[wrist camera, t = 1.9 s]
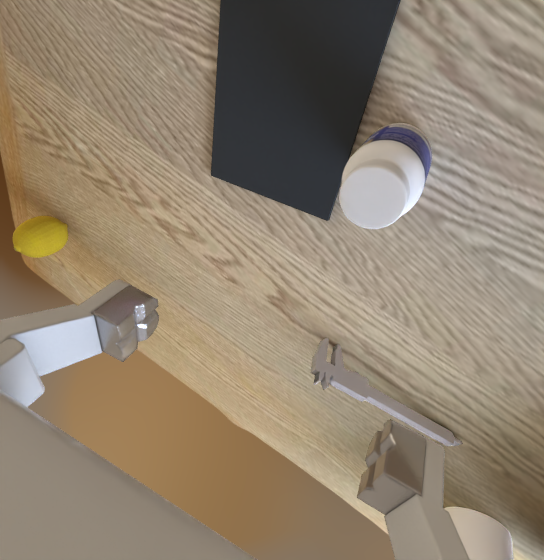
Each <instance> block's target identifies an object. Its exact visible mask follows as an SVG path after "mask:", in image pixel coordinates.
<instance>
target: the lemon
mask: <svg viewBox="0 0 544 560" xmlns="http://www.w3.org/2000/svg"><path fill="white" fill-rule="evenodd" d="M67 228H68V226H67V224H65V223H62V222H61V221H60V220H58V219H56V218H54V217H50V216H38V217H34V218H31V219H29V220H27V221H25V222H23V223H22V224H21V225H20V226H18V227H17V229H16V230H15V232H14V234H13V243H14V249H15V250H16V251H19V252H21V253H22V254H24V255H26V256H29V257H37V258H38V257H45V256H48V255H51V254H53V253H55V252H57V251H59V250H60V249H61V248H63V247H64V245H65V244H66V242H67V240H68V231H67Z"/></svg>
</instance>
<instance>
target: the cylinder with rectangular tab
mask: <svg viewBox="0 0 544 560" xmlns="http://www.w3.org/2000/svg"><path fill="white" fill-rule="evenodd" d="M443 509H445V510H446V511H448V512H449V514H450V516H451V518H452V521H453V523H454V525H455V527H456V530H457V532H458V534H459V536H460V539H461V541H462V543H463V545H464V548H465V550H466V552H467V554H468V557H469V559H470V560H514V559H513V548H512V538H511V534H510V532H509V531H508V529H507V528H506V527H505V526H503V525H502V524H501V523H500V522H498V521H497V520H495V519H494V518H492V517H490V516H488V515H486V514H483V513H481V512H478V511H475V510H472V509H467V508H462V507H446V508H443Z"/></svg>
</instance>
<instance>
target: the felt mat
mask: <svg viewBox="0 0 544 560" xmlns="http://www.w3.org/2000/svg"><path fill="white" fill-rule="evenodd" d="M399 3H400V0H221V4H220V22H219V40H218V58H217V76H216V94H215V112H214V129H213V147H212V165H211V176H214V177H216V178H219V179H221V180H224V181H226V182H229V183H232V184H234V185H237V186H239V187H242V188H244V189H247V190H250V191H252V192H255V193H257V194H260V195H262V196H265V197H268V198H270V199H273V200H275V201H278V202H280V203H283V204H286V205H288V206H291V207H293V208H296V209H298V210H301V211H304V212H306V213H309V214H311V215H314V216H316V217H319V218H322V219H324V220H327V221H328V220H329V218H330V215H331V212H332V209H333V206H334V203H335V200H336V197H337V194H338V190H339V187H340V184H341V181H342V174H343V171H344V168H345V166H346V164H347V162H348V160H349V157H350V154H351V151H352V147H353V144H354V141H355V138H356V135H357V132H358V129H359V126H360V123H361V120H362V117H363V114H364V111H365V108H366V105H367V101H368V98H369V95H370V92H371V89H372V86H373V83H374V80H375V77H376V74H377V71H378V68H379V65H380V62H381V59H382V55H383V52H384V49H385V46H386V43H387V40H388V37H389V34H390V31H391V28H392V25H393V22H394V19H395V16H396V12H397V9H398V6H399Z"/></svg>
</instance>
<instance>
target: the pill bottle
mask: <svg viewBox="0 0 544 560" xmlns="http://www.w3.org/2000/svg"><path fill="white" fill-rule="evenodd" d="M431 161H432V148H431V144H430V142H429V140H428V138H427V136H426V135H425V134H424V133H423V132H422V131H421V130H420V129H418V128H417V127H415V126H413V125H410V124H406V123H393V124H389V125H386V126H384V127H382V128H380V129H378V130H377V131H376V132H374V133H373V134H372V135H371V136H370V137H369V138H368V139H367V140H366V141H365V142H364V143H363V144H362V146H361V147H360V148H359V149H358V150H357V151H356V152H355V153H354V154H353V155H352V156H351V158H350V159H349V161H348V162H347V164H346V166H345V168H344V171H343V174H342V185H341V188H340V193H339V201H340V206H341V209H342V211H343V213H344V214H345V216H346V217H347V218H348V219H349V220H350V221H351V222H352V223H354V224H355V225H357V226H360V227H362V228H366V229H380V228H384V227H386V226H389V225H391V224H392V223H394V222H395V221H396V220H397V219H398V218H399V217H400V216H402V215H403V214H405V213H406V212H408V211H409V210H410V209H411V208H412V207H413V206H414V205H415V204H416V202H417V201H418V199H419V198H420V196H421V193H422V191H423V188H424V185H425V182H426V178H427V175H428V172H429V169H430V166H431Z"/></svg>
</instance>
